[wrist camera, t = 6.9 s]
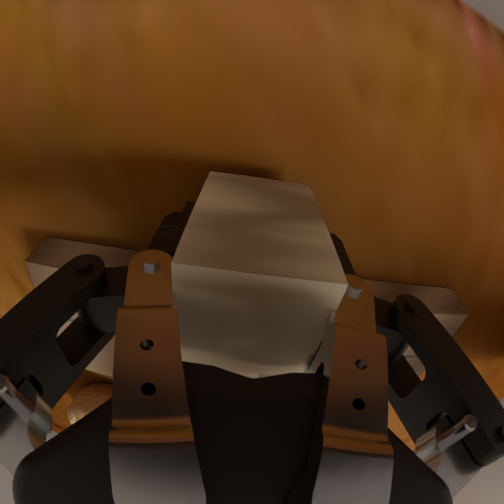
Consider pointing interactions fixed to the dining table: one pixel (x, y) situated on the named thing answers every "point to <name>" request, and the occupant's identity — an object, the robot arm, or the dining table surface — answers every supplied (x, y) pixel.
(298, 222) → the beige cube mallet
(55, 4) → the dining table surface
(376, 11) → the dining table surface
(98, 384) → the pastry
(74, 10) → the dining table surface
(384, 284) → the board
